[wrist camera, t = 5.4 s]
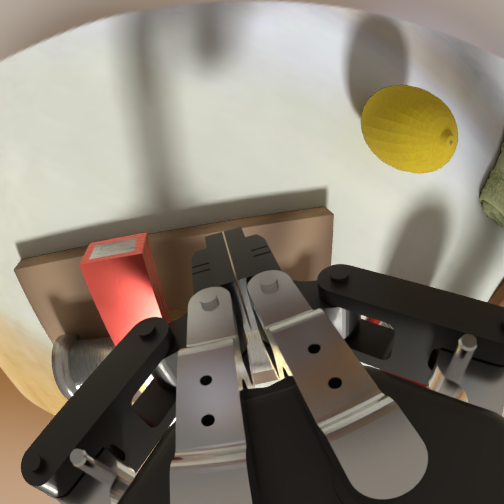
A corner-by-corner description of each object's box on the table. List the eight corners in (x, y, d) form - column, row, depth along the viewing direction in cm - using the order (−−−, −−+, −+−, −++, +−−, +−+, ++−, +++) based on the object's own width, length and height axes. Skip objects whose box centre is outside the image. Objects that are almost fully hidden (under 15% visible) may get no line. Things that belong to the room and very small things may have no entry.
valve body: (304, 281, 24) (351, 361, 17) (302, 331, 27) (338, 407, 20) (62, 320, 21) (35, 404, 14) (88, 364, 24) (75, 444, 17)
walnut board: (325, 206, 22) (333, 214, 21) (315, 358, 31) (319, 368, 30) (21, 259, 19) (13, 269, 18) (96, 392, 28) (94, 403, 26)
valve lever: (216, 430, 18) (220, 449, 16) (175, 436, 17) (177, 455, 16) (154, 230, 10) (151, 251, 9) (83, 244, 10) (71, 266, 9)
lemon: (333, 88, 18) (408, 96, 11) (396, 79, 18) (477, 89, 11) (348, 162, 21) (417, 202, 14) (406, 146, 21) (480, 178, 14)
